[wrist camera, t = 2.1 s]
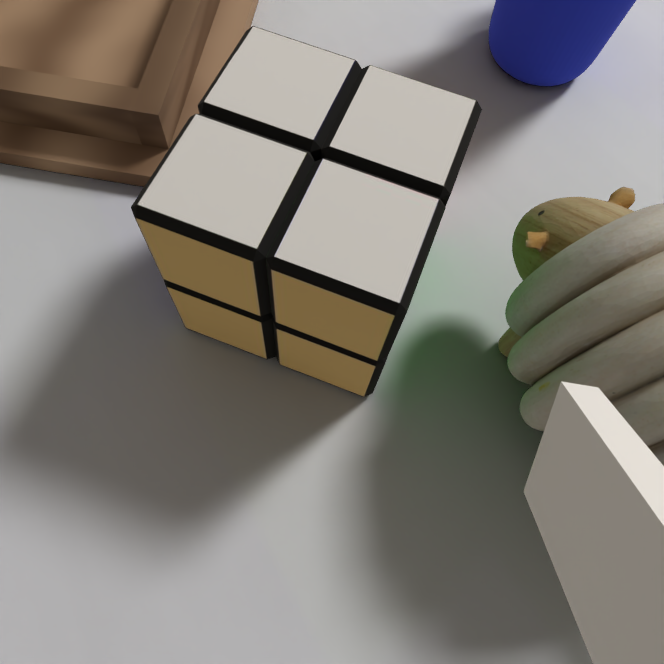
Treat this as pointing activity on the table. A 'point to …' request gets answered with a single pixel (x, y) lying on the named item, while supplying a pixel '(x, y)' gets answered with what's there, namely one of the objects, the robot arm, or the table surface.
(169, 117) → the docking cradle
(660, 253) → the toy sheep
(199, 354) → the table surface
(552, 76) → the mug
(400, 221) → the puzzle cube
